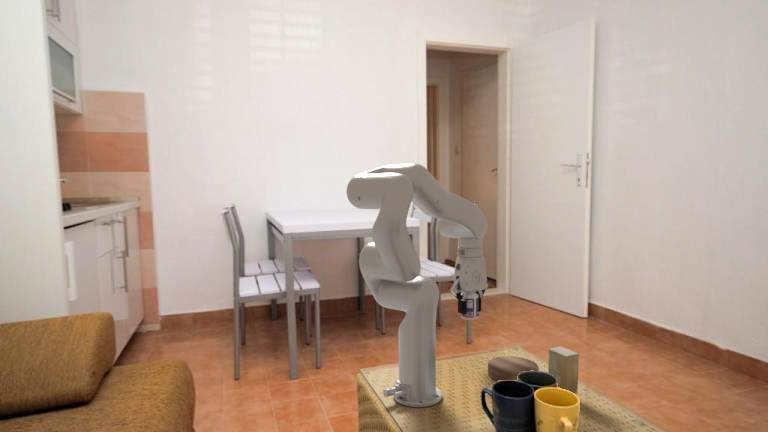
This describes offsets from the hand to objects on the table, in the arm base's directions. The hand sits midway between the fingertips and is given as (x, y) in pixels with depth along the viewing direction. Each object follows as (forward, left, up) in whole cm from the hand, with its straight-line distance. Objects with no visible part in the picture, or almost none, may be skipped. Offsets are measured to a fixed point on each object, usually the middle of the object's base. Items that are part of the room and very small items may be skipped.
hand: (469, 311), depth 143 cm
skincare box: (+2, -31, -16) cm, 35 cm away
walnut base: (+3, -14, -16) cm, 22 cm away
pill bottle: (0, 0, -2) cm, 2 cm away
